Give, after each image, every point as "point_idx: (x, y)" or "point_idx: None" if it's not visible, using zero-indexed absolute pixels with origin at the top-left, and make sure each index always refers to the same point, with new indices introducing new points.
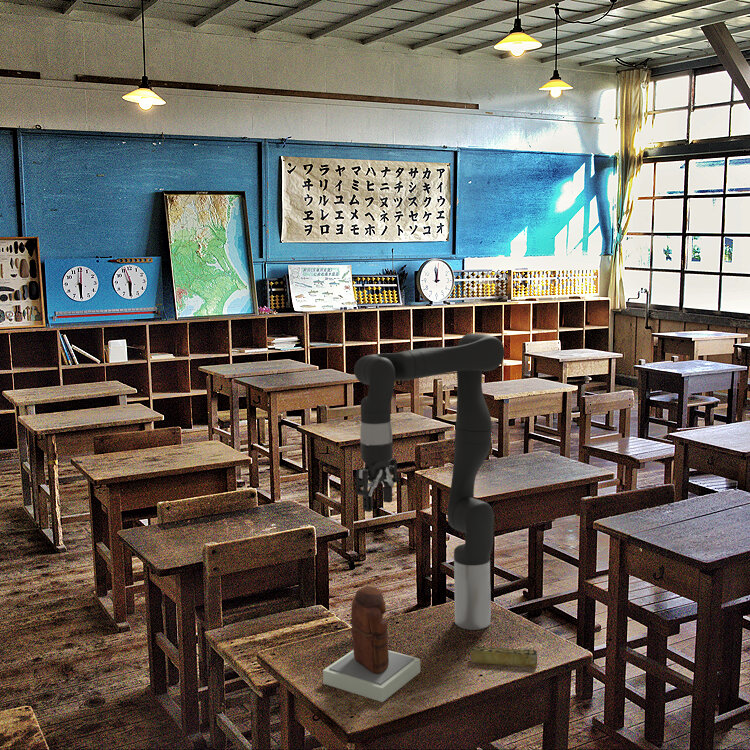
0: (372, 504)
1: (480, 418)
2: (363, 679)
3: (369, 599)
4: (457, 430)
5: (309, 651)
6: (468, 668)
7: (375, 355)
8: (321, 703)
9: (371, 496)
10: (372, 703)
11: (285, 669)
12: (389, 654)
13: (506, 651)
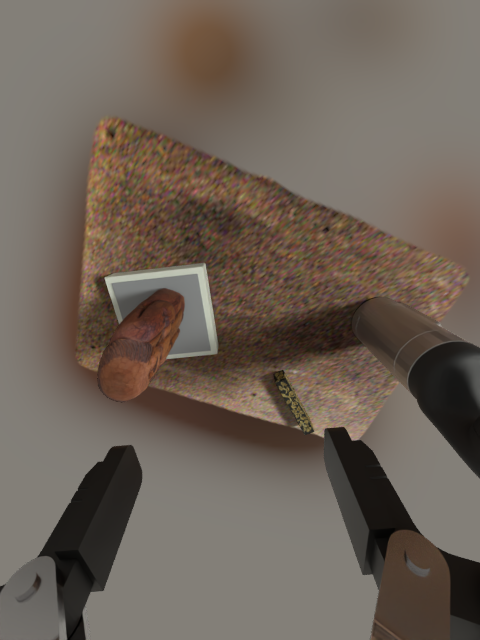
0: (128, 518)
1: None
2: None
3: (102, 392)
4: None
5: (160, 182)
6: (259, 379)
7: None
8: (82, 304)
9: (93, 590)
10: None
11: (96, 197)
12: (198, 321)
13: (294, 411)
